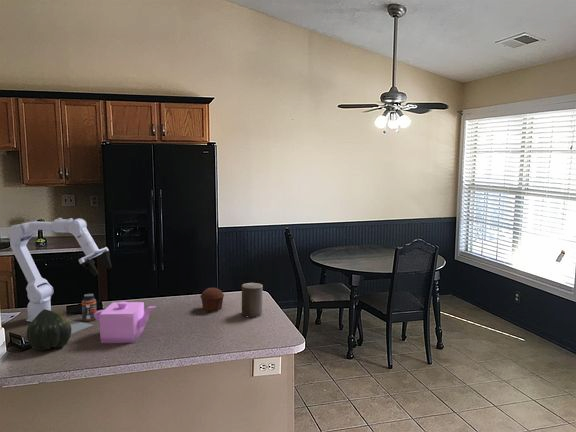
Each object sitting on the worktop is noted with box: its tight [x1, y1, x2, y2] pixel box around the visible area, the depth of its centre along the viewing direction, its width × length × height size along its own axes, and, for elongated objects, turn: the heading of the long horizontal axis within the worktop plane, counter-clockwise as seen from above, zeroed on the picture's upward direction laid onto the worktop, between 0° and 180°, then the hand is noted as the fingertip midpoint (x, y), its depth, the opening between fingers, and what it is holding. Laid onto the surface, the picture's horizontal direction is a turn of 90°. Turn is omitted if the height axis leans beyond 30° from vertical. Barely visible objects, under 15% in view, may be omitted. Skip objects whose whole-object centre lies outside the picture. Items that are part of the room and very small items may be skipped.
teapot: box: [94, 301, 157, 344], centre depth 183 cm, size 15×25×14 cm, turn 93°
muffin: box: [200, 287, 225, 313], centre depth 216 cm, size 12×11×10 cm
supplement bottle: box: [81, 293, 98, 322], centre depth 201 cm, size 6×6×11 cm
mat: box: [67, 318, 94, 335], centre depth 191 cm, size 16×15×1 cm
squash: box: [26, 309, 72, 352], centre depth 172 cm, size 14×15×15 cm
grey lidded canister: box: [241, 282, 264, 318], centre depth 209 cm, size 10×10×15 cm
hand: (103, 271), depth 195 cm, fingers open, 7 cm apart
